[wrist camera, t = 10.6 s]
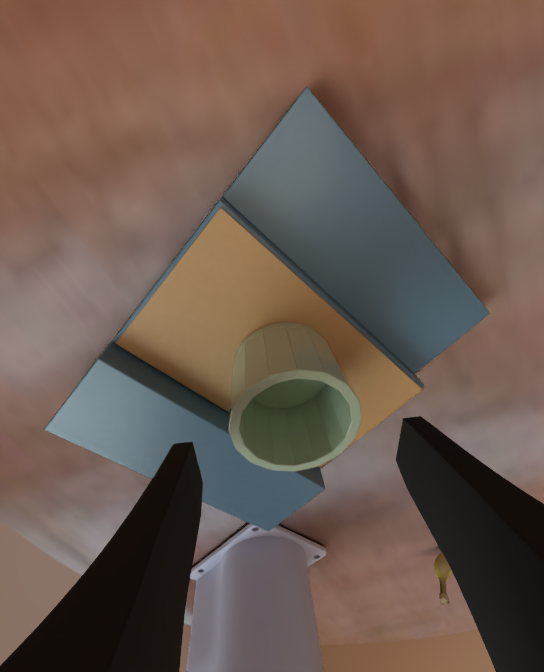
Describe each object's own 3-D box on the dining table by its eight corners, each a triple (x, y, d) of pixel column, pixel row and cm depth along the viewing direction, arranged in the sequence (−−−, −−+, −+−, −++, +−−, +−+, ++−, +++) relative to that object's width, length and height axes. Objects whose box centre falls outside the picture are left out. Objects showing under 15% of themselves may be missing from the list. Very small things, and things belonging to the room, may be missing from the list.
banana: (416, 557, 29) (440, 610, 25) (419, 546, 28) (444, 599, 25) (498, 547, 29) (533, 598, 26) (503, 536, 29) (540, 587, 25)
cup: (295, 420, 17) (309, 485, 13) (214, 383, 15) (205, 445, 12) (354, 352, 15) (388, 405, 11) (268, 302, 13) (277, 346, 10)
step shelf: (264, 482, 22) (268, 532, 19) (79, 383, 17) (42, 430, 14) (477, 306, 17) (531, 335, 14) (302, 92, 12) (323, 61, 9)
